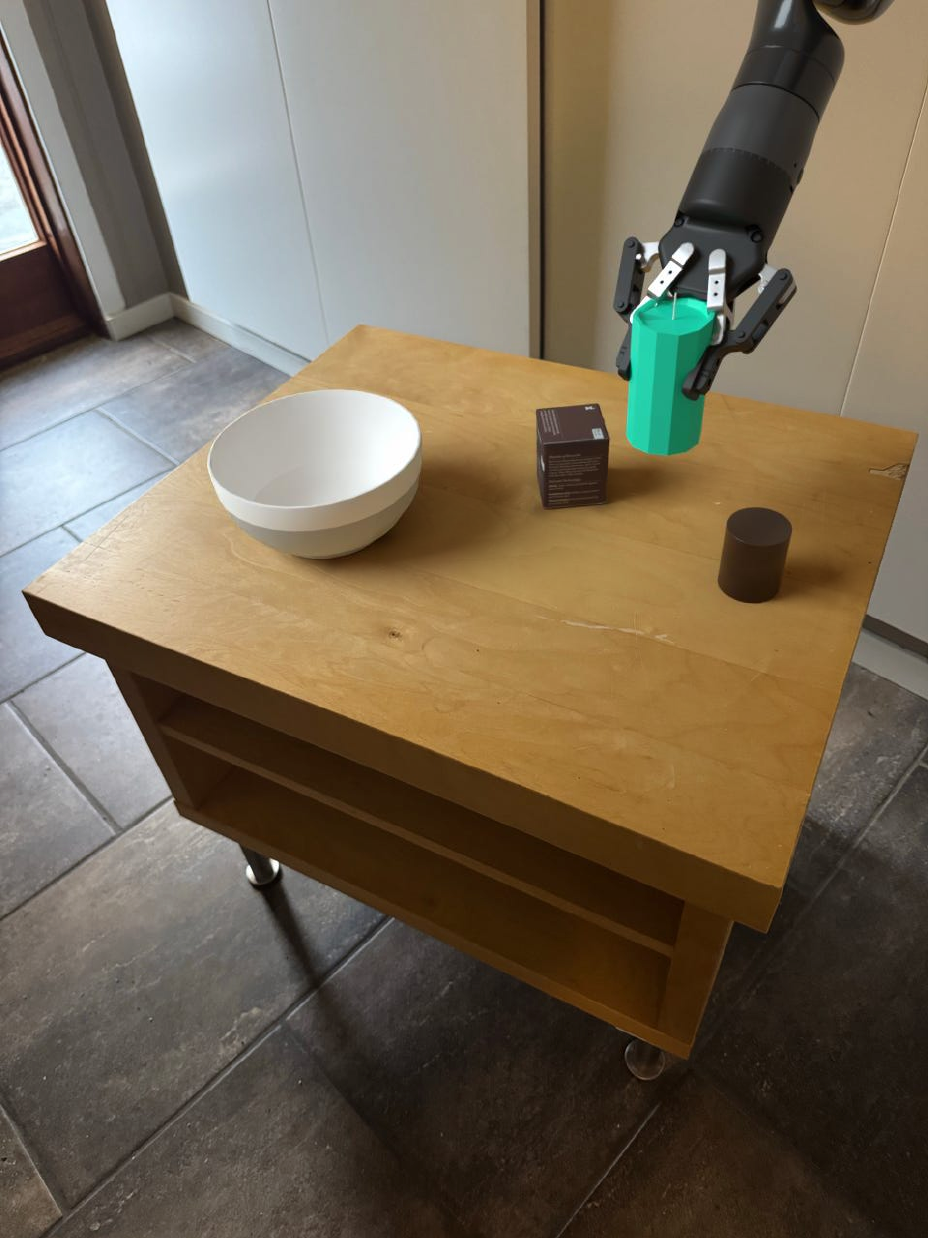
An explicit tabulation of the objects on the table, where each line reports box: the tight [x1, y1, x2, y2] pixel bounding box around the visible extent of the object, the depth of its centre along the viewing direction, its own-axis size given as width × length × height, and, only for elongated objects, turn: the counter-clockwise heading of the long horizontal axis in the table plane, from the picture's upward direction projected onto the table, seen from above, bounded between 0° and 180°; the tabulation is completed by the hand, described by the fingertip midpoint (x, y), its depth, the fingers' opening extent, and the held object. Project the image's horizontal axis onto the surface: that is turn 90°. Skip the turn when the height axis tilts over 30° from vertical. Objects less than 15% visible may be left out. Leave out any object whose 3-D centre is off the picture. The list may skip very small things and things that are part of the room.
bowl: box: [206, 388, 423, 560], centre depth 85 cm, size 19×19×9 cm
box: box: [535, 402, 611, 510], centre depth 86 cm, size 6×6×7 cm
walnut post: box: [717, 506, 793, 604], centre depth 76 cm, size 5×5×6 cm
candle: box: [625, 293, 715, 457], centre depth 72 cm, size 6×6×12 cm
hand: (657, 386), depth 71 cm, fingers closed on candle, 5 cm apart
